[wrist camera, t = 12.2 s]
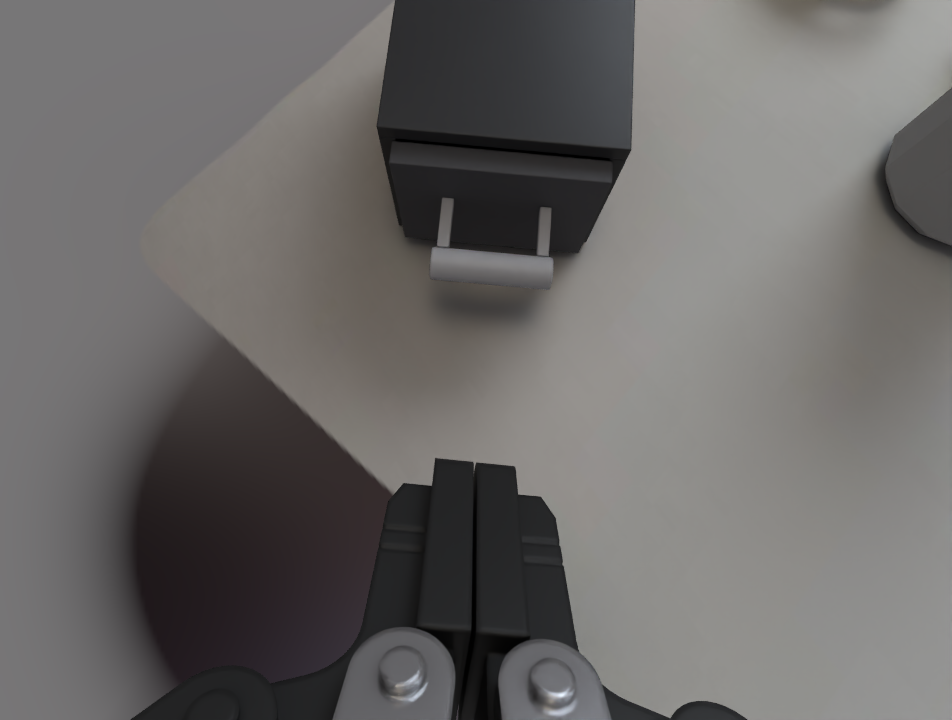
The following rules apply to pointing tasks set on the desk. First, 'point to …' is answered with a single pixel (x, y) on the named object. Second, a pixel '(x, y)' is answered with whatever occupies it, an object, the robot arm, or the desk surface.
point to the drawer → (496, 207)
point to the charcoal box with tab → (511, 77)
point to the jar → (924, 171)
